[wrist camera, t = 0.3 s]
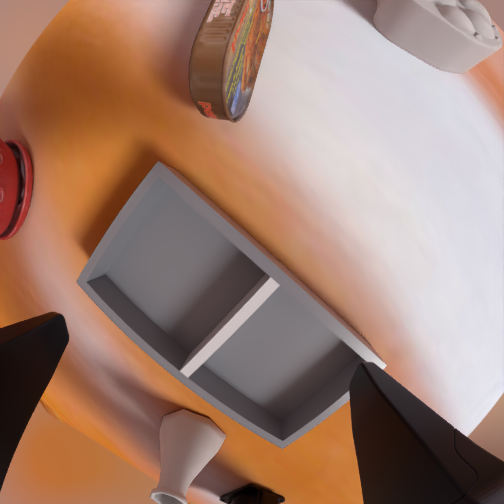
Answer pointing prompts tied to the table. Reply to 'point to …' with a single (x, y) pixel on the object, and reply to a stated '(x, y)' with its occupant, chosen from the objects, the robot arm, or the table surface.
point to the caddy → (222, 311)
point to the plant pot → (14, 187)
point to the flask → (184, 453)
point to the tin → (228, 56)
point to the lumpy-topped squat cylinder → (439, 31)
